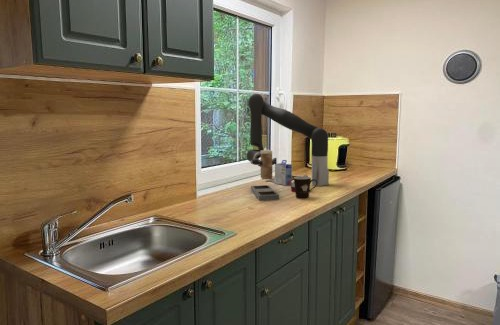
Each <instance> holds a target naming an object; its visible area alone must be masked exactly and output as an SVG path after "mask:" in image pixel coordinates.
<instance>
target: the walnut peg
mask: <svg viewBox="0 0 500 325" xmlns="http://www.w3.org/2000/svg"><path fill="white" fill-rule="evenodd" d="M260 152H261V161H263V165H262V166H261V167H260V179H261V180H273V165H272V159H273V150H271V149H264V150H260Z"/></svg>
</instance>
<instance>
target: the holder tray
mask: <svg viewBox="0 0 500 325" xmlns="http://www.w3.org/2000/svg"><path fill="white" fill-rule="evenodd" d="M250 191H251V192H252V193H253V195H254V196H255V198H257V200H258V201H260V202H262V201H265V202H266V201H278V200H280V194H279V193H278V192H277V191H276V190H275V189H274V188H273V187H271V186H270V184H265V185H251V186H250Z"/></svg>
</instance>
